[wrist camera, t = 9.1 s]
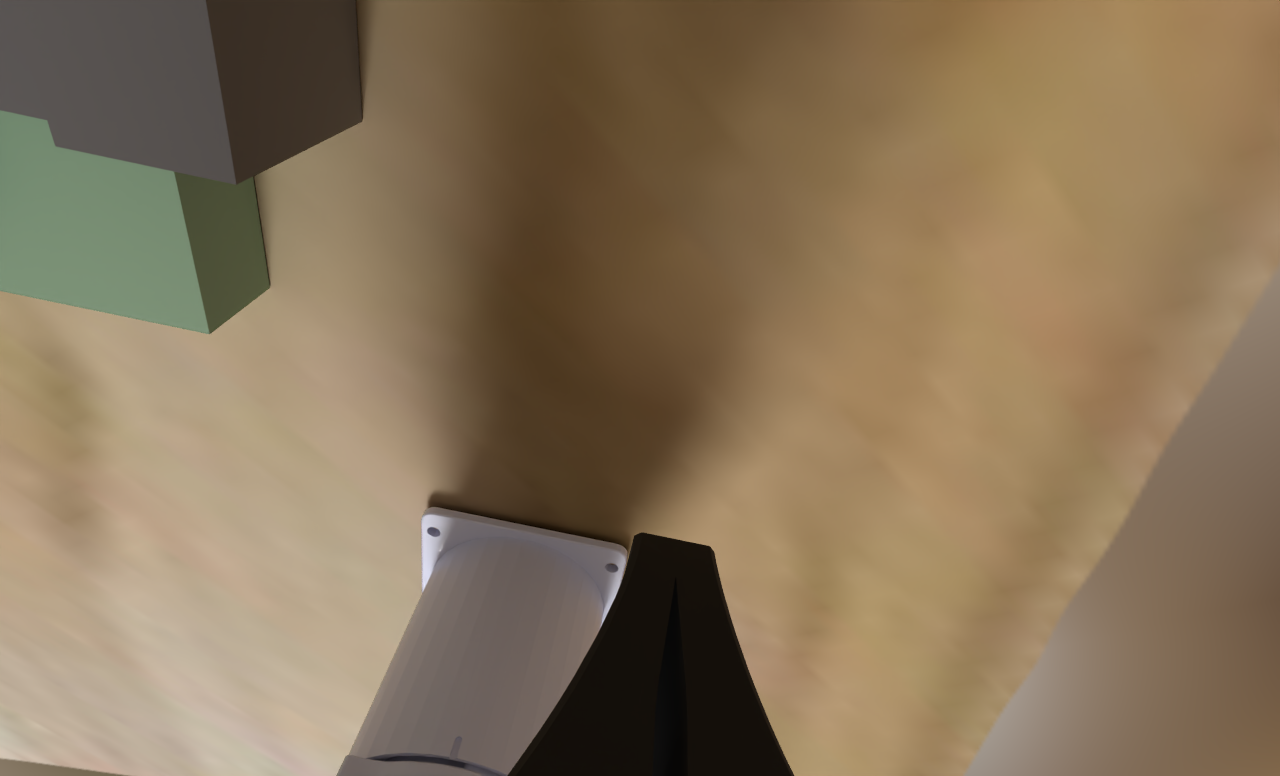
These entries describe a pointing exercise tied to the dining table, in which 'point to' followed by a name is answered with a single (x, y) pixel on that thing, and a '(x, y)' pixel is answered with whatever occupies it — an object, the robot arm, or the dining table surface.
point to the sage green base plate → (124, 234)
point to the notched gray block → (184, 78)
